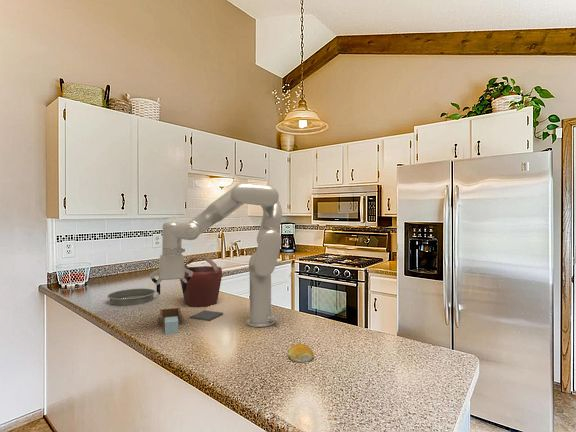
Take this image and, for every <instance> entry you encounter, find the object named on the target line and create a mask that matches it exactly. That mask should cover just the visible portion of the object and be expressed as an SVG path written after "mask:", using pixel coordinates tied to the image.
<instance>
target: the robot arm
mask: <svg viewBox="0 0 576 432" xmlns="http://www.w3.org/2000/svg"><path fill="white" fill-rule="evenodd" d="M279 198H280V195H279V191H278V190H277V189H276V188H274V187H273V186H269V185H262V184H261V185H260V184H251V183H243V182H240V183H237V184H236V185H234V186H233V187H232V188H231V189H229V190H228V191H227V192H225V193H224V194H222V195H221V196H219V197H218V198H217V199H216V200H214V201H213V202H211V203H210V204H209V205H208V206H207V207H206V208H205V209H204V210H203V211H202V212H201V213H199V214H197V215H196V216H195V217H193V218H192V219H191V220H189V221H188V222H181V223H180V222H178V221H177V222H173V221H172V222H171V221H170V222H164V223H163V224H162V243H161V244H162V247H161V248H162V249H161V250H162V251H161V252H162V253H161V255H160V256H159V260H158V261H159V263H158V269H156V270H155V271H152V272H150V273H149V278H150V279H151V280H150V281H152V282H153V283H154V284H155V286H156V290H155V291H156V292H155V293H157V295H161V282H162V281H169V280H170V281H171V280H180V279H182V280H183V289H182V288H181V290H182V294H183V293H185V290H186V283H187V282H188V281H189V280H190V279H191V277H192V275H193V271H190V270H188V269H186V268H184V264H185V258H184V254H183V253H185V252H186V248H182V242H183V241H182V240H187V241H194V240H196V239H198V238H199V236H200V235H201V234H203V233H204V232H206V231H207V230H208V229H209V228H211V227H212V226H214V225H216V224H217V223H219V222H221V221H223V220H224V219H226V218H227V217H228V216H230V215H231V214H233V213H234V212H235V211H236V210H238V209H239V208H241V207H242V206H243V205H245V204H246V205H254V206H260V207H261V209H262V212H263V213H262V218H261V222H260V225H259V229H258V232H257V236H256V243H257V248H256V252H253V253H252V254H251V256H250V257H249V260H248V269H249V270H248V271H249V318H247V319H246V320H245V323H246V325H247V326H249V327H252V328H265V327H270V326H271V327H272V325H274V324H275V322H277V323H278V322H279V321H280V316H278V315H274V312H273V311H272V273H273V272H274V270H275V269H276V265H277V262H278V258H279V254H280V251H281V247H282V236H281V234H280V232H279V230H280V228H281V222H282V217H283V208H282V205H281V204H280V201H279ZM185 272H187V273H189V275H188V277H187V278H186V279H185V277H184V276H185ZM157 274H158V279H156V278H155V276H156V275H157Z"/></svg>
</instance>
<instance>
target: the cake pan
mask: <svg viewBox="0 0 576 432" xmlns="http://www.w3.org/2000/svg"><path fill="white" fill-rule="evenodd" d="M156 291H157V290H155V289H153V288H129V289H122V290H118V291H117V290H116V291H114V292H111V293H109V294H107V296H106V297H107V299H109V302H110V304H111V305H112V304H113V306H117V307H120V306H121V307H124V306H125V307H129V305H130V306H136V305H142V304H143V305H144V304H147V303H149V302H151V301H152V300H153V299H154V295H155V294H156V293H157V292H156ZM123 298H124V299H123ZM125 298H126V299H125Z"/></svg>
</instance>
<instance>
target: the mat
mask: <svg viewBox="0 0 576 432" xmlns="http://www.w3.org/2000/svg"><path fill="white" fill-rule="evenodd" d="M223 315H224V312H222V311H221V312H220V311H213V310H205V309H204V310H202V311H200V312H197V313H195V314H193V315H190V316H189V319H193V320H199V321H205V322H206V321H207V322H211V321H212V320H215V319H217V318H219V317H221V316H223Z"/></svg>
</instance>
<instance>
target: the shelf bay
mask: <svg viewBox="0 0 576 432" xmlns="http://www.w3.org/2000/svg"><path fill="white" fill-rule="evenodd" d="M175 316H177V317H178V324H179V325H183V314H182V311H181V307H173V308H163V309H159V326H160V327H161V328H163V327H164V318H166V317H175Z"/></svg>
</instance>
